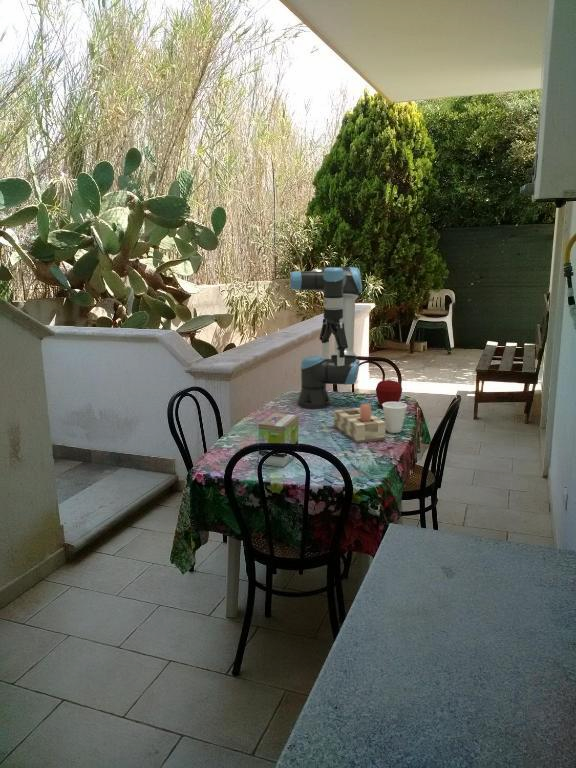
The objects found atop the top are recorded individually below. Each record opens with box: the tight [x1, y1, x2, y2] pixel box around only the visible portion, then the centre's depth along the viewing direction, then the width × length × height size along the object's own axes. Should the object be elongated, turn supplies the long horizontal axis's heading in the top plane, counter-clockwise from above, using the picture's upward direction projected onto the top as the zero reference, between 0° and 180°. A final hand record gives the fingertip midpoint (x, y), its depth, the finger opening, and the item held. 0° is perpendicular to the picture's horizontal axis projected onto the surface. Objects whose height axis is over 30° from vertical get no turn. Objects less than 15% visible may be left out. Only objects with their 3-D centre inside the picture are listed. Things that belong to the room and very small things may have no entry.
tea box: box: [258, 412, 299, 468], centre depth 206 cm, size 15×10×15 cm
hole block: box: [333, 407, 386, 444], centre depth 234 cm, size 22×12×7 cm, turn 19°
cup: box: [381, 401, 408, 434], centre depth 236 cm, size 10×10×11 cm
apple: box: [375, 379, 403, 406], centre depth 271 cm, size 12×12×13 cm
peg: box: [359, 403, 372, 423], centre depth 228 cm, size 4×4×12 cm
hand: (333, 362), depth 232 cm, fingers open, 13 cm apart
